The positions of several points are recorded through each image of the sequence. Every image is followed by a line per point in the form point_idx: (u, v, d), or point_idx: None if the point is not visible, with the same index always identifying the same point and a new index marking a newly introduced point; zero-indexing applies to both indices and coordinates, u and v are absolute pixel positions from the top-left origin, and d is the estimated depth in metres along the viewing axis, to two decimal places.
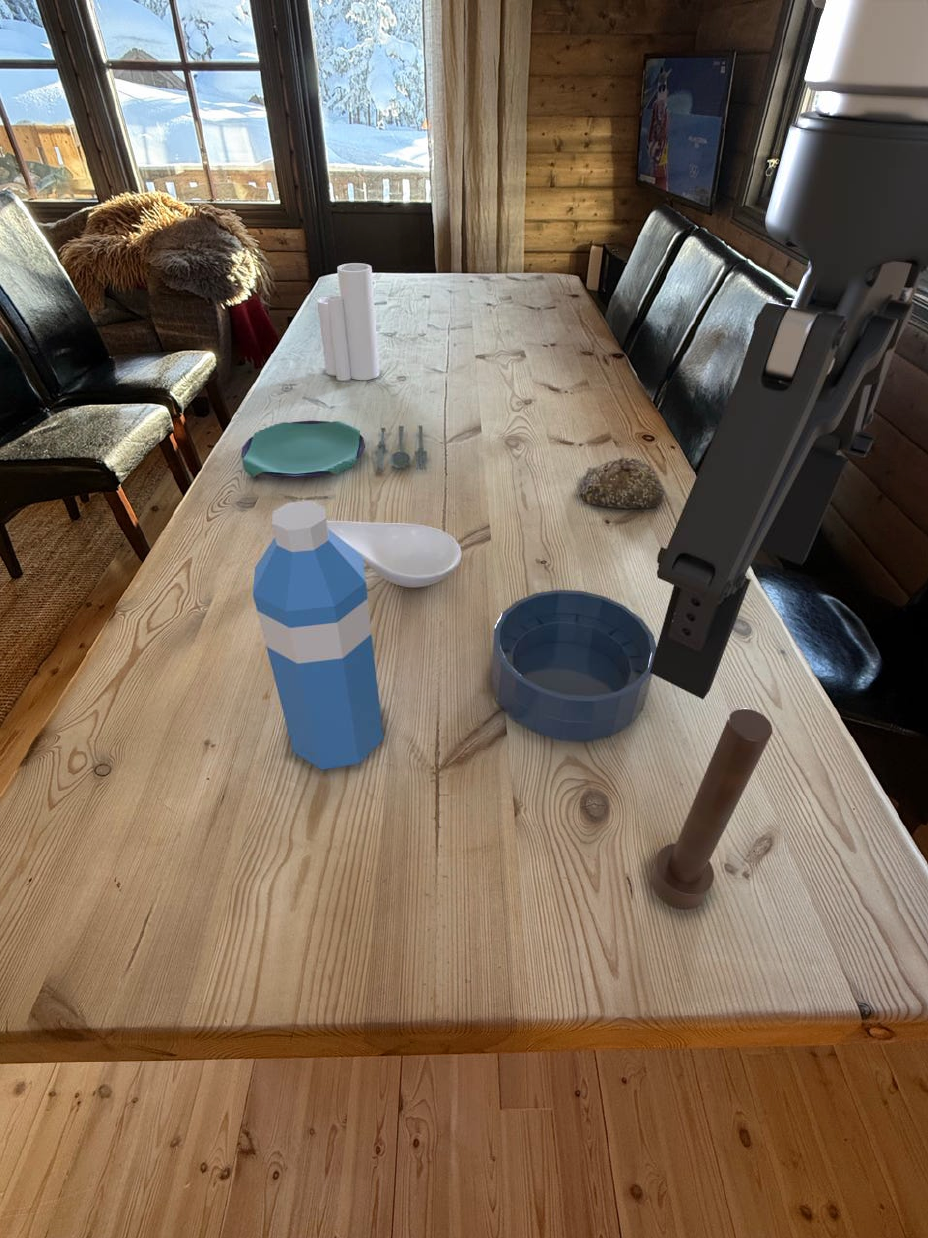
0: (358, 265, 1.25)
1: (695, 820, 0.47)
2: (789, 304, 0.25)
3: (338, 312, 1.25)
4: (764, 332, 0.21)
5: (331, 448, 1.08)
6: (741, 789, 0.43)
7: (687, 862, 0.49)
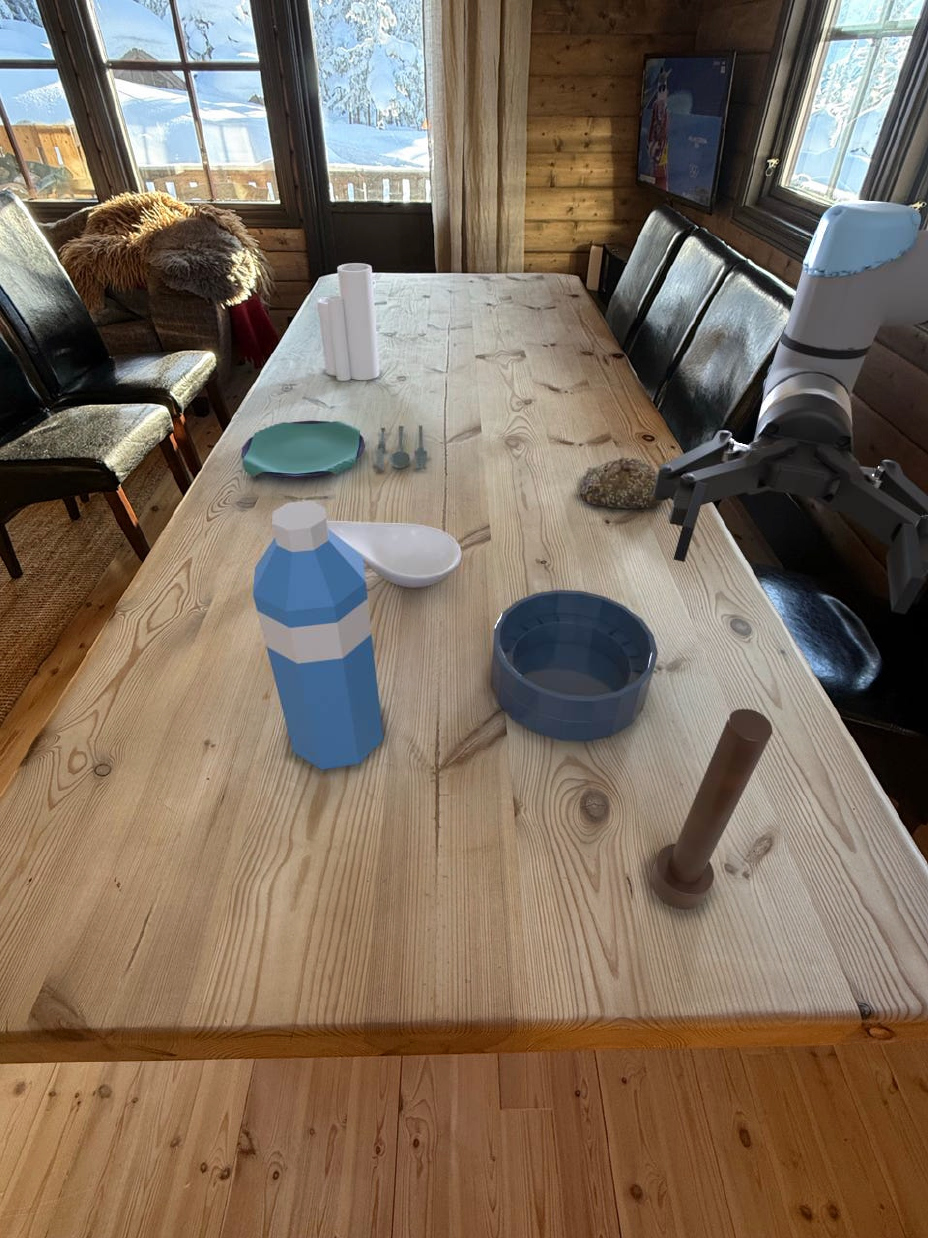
0: (358, 265, 1.25)
1: (695, 820, 0.47)
2: None
3: (338, 312, 1.25)
4: None
5: (331, 448, 1.08)
6: (741, 789, 0.43)
7: (687, 862, 0.49)
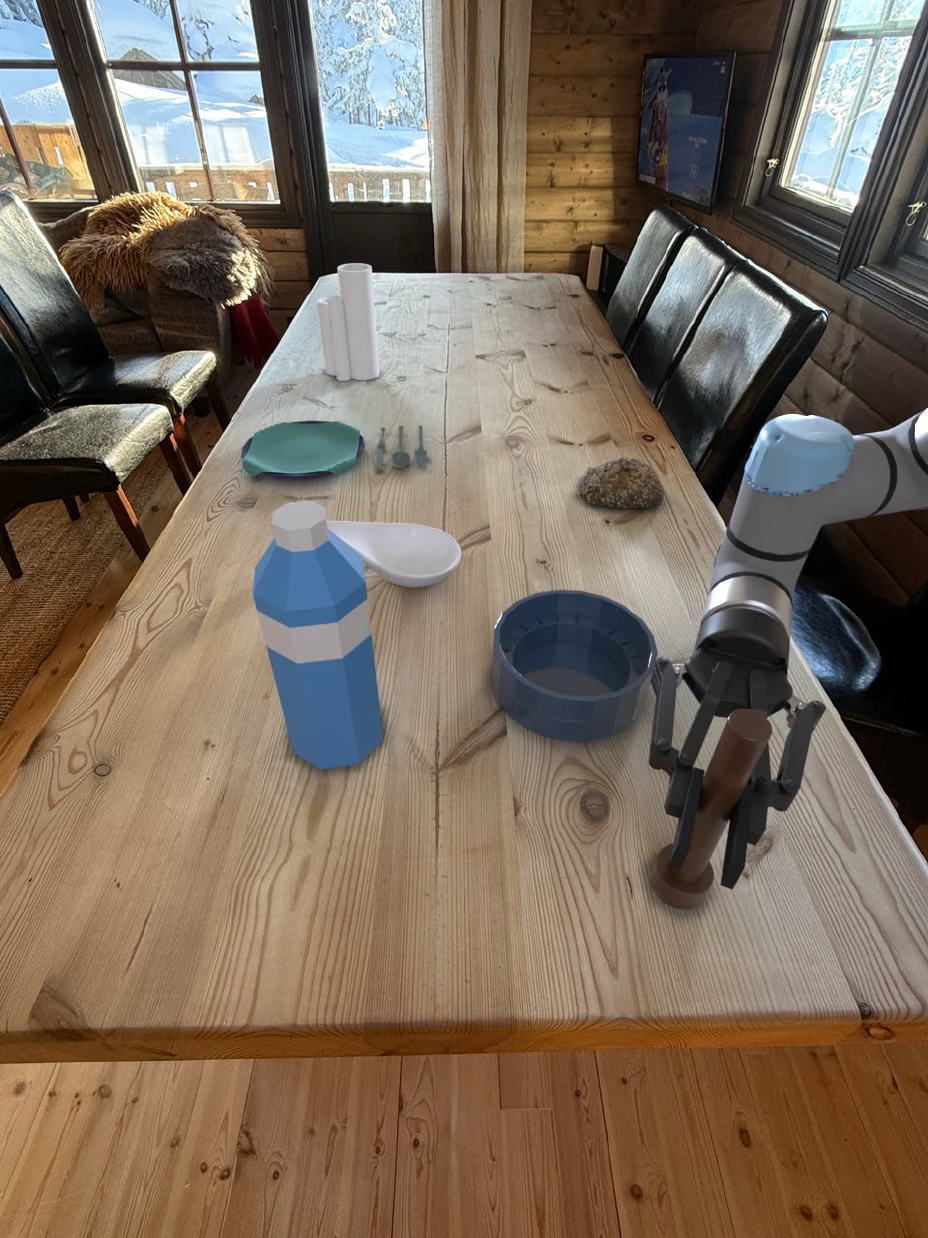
0: (358, 265, 1.25)
1: (695, 820, 0.47)
2: None
3: (338, 312, 1.25)
4: (652, 680, 0.55)
5: (331, 448, 1.08)
6: (741, 789, 0.43)
7: (687, 862, 0.49)
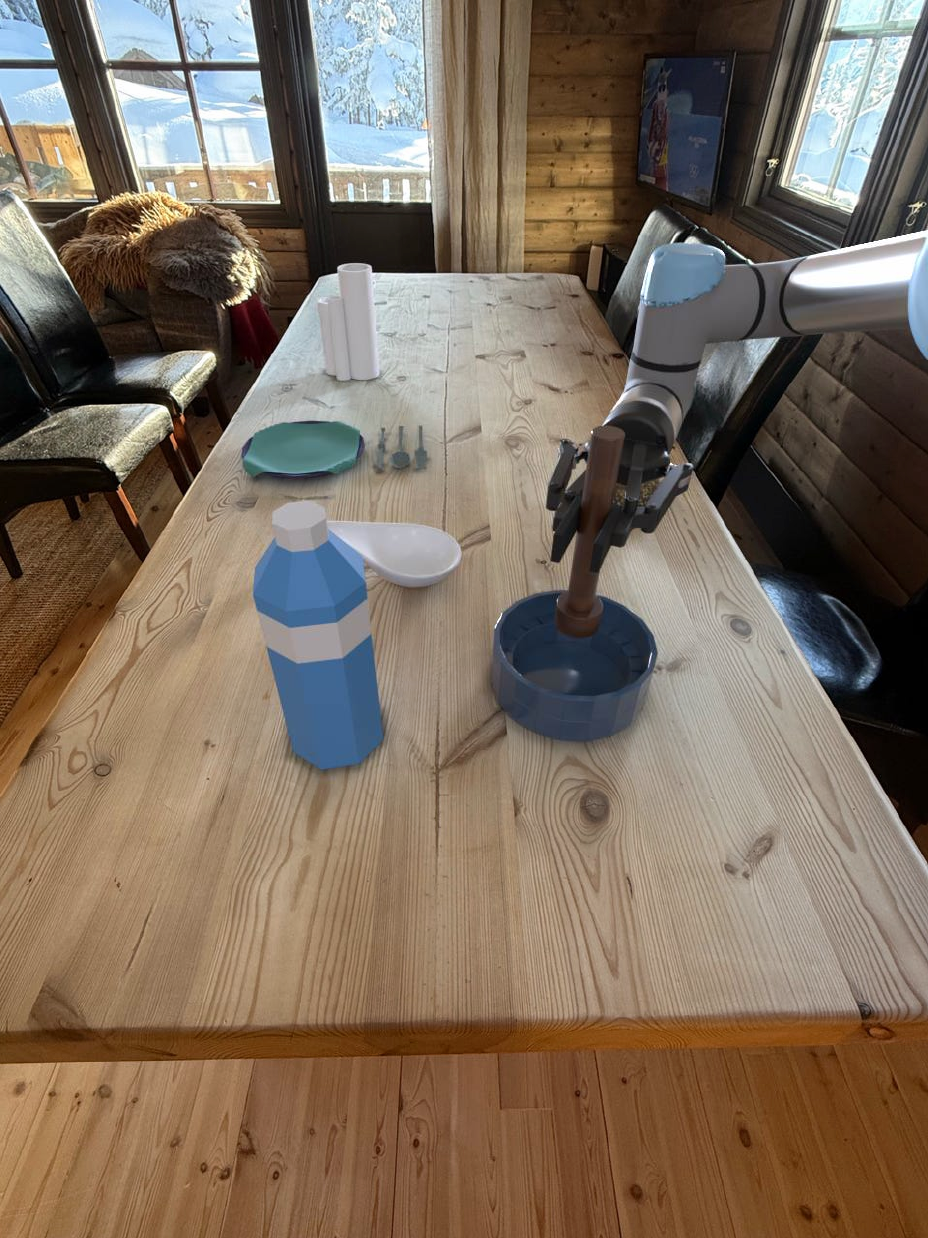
0: (358, 265, 1.25)
1: (578, 540, 0.58)
2: None
3: (338, 312, 1.25)
4: None
5: (331, 448, 1.08)
6: (607, 497, 0.54)
7: (577, 588, 0.60)
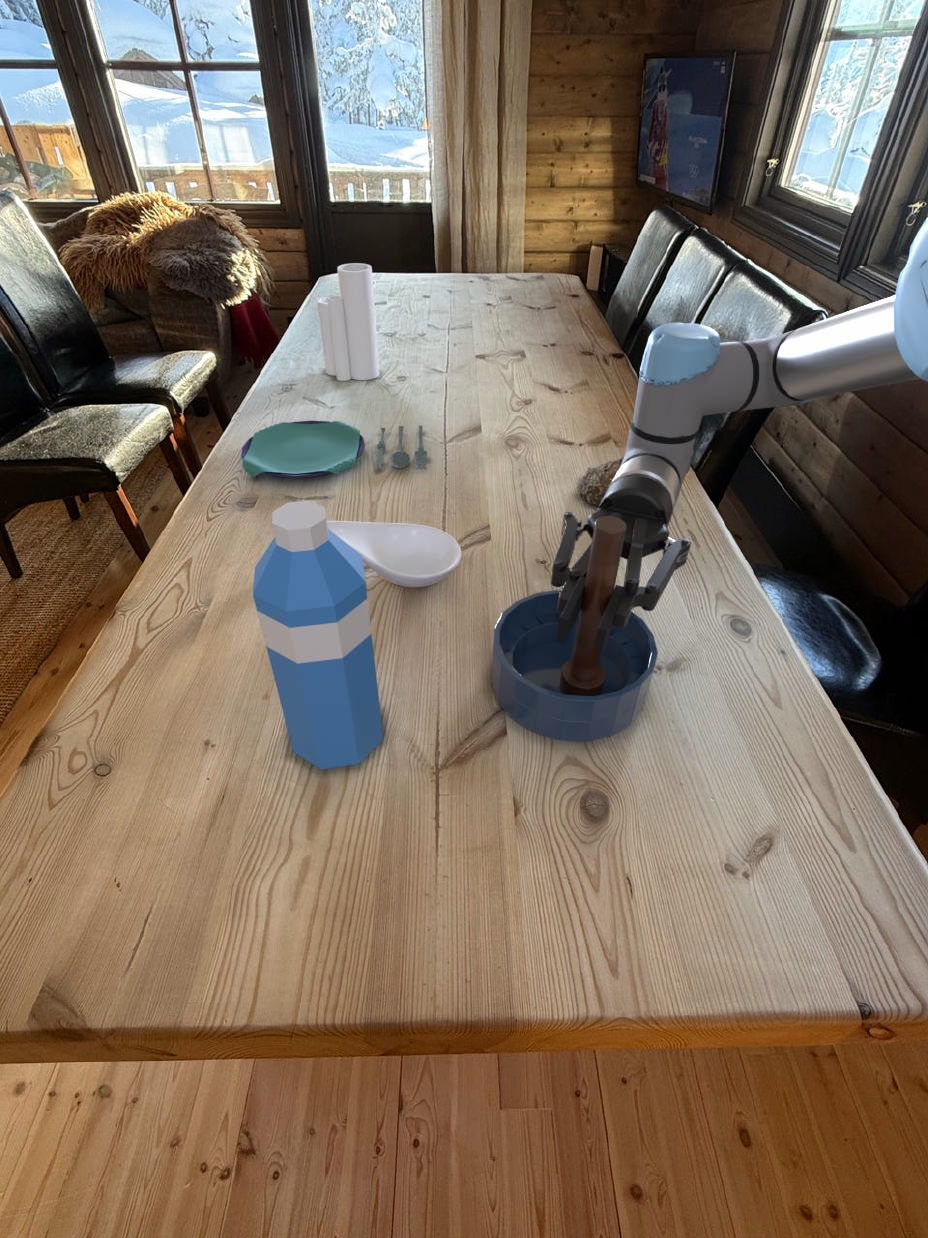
0: (358, 265, 1.25)
1: (582, 617, 0.61)
2: None
3: (338, 312, 1.25)
4: None
5: (331, 448, 1.08)
6: (610, 582, 0.57)
7: (581, 659, 0.63)
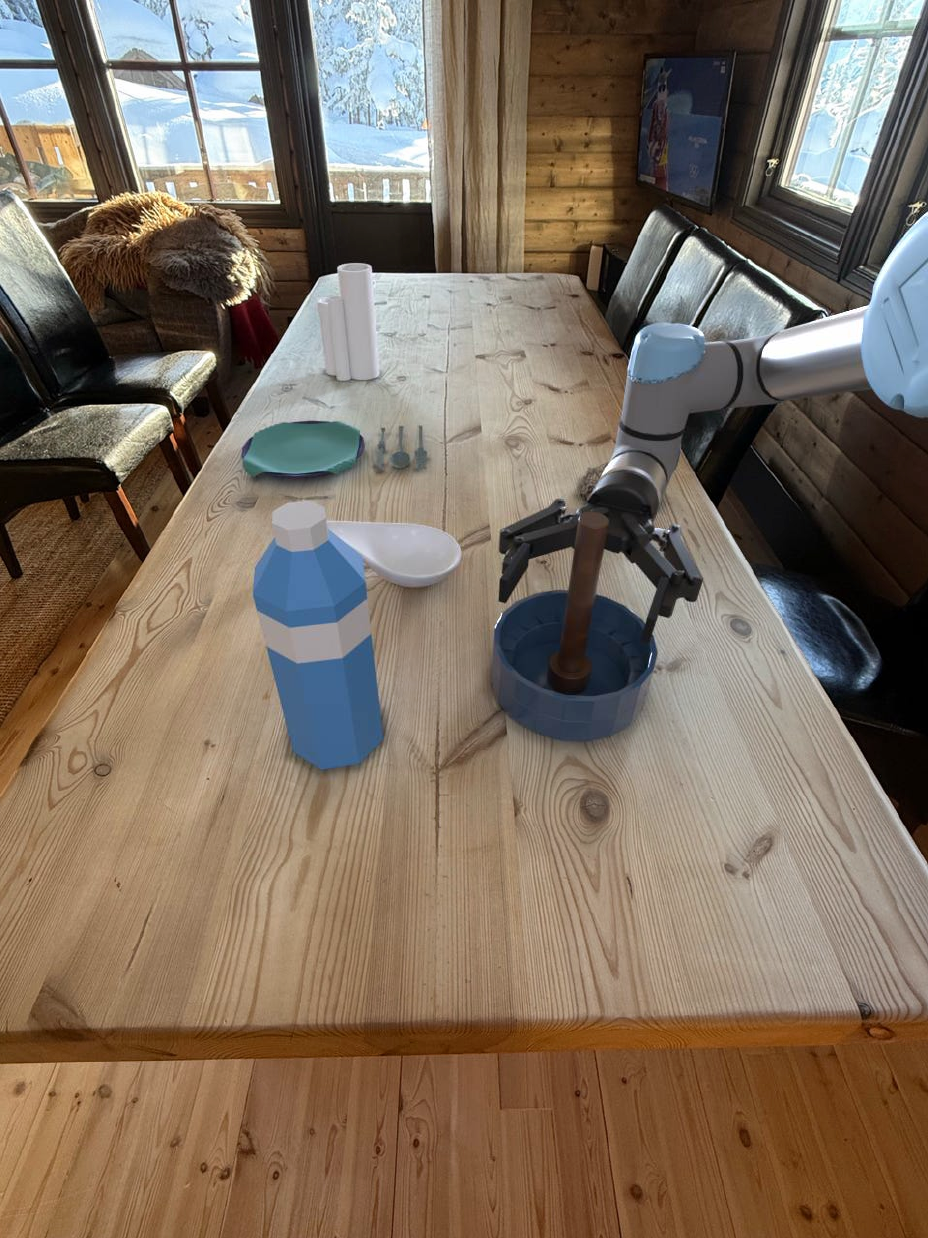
0: (358, 265, 1.25)
1: (568, 610, 0.63)
2: None
3: (338, 312, 1.25)
4: None
5: (331, 448, 1.08)
6: (593, 575, 0.59)
7: (567, 651, 0.66)
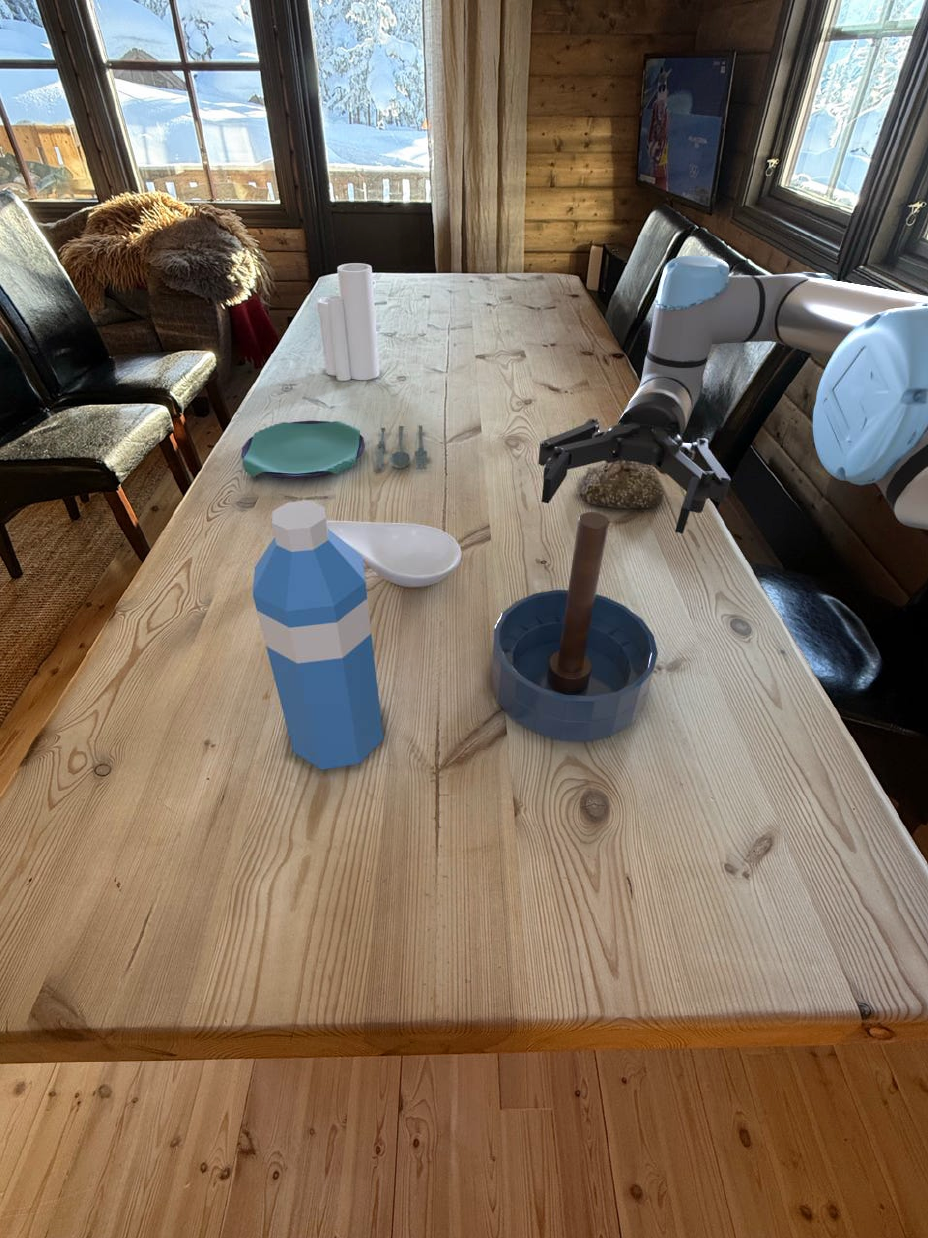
0: (358, 265, 1.25)
1: (568, 610, 0.63)
2: None
3: (338, 312, 1.25)
4: None
5: (331, 448, 1.08)
6: (593, 575, 0.59)
7: (567, 651, 0.66)
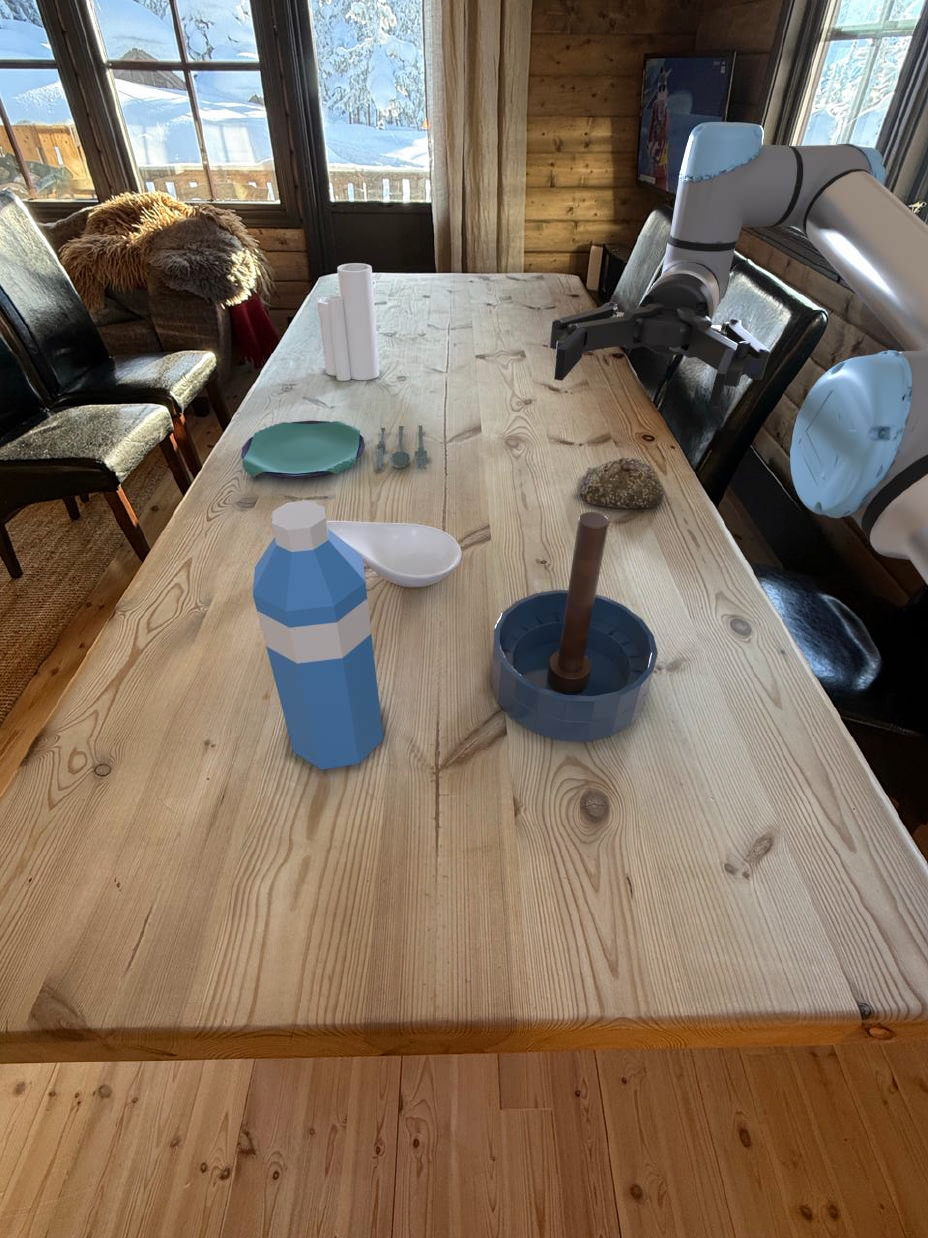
0: (358, 265, 1.25)
1: (568, 610, 0.63)
2: None
3: (338, 312, 1.25)
4: None
5: (331, 448, 1.08)
6: (593, 575, 0.59)
7: (567, 651, 0.66)
